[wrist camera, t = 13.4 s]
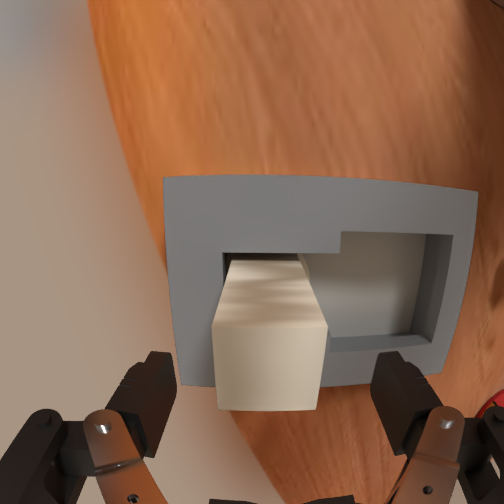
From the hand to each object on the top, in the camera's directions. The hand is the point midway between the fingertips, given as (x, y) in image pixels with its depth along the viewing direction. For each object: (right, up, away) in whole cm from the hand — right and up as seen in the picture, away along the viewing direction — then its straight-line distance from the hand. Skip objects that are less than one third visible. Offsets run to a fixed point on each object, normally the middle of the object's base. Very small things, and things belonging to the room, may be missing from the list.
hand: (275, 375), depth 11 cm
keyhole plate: (+4, +3, +12) cm, 13 cm away
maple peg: (0, +3, +11) cm, 12 cm away
